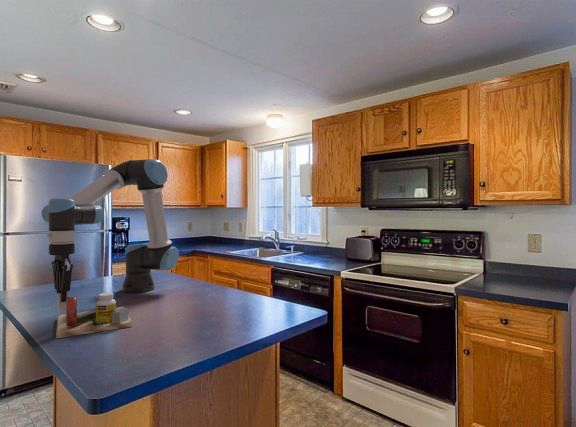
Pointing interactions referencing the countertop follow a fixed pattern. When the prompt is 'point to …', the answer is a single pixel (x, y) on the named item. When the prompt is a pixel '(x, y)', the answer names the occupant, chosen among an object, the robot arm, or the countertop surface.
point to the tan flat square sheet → (85, 326)
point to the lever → (72, 313)
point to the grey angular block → (120, 316)
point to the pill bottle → (105, 308)
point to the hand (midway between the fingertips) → (62, 310)
